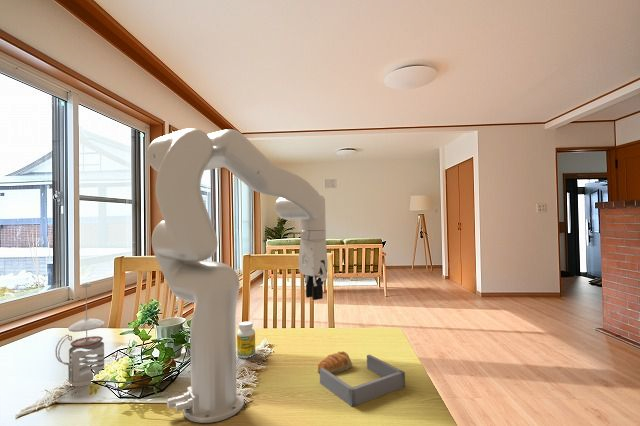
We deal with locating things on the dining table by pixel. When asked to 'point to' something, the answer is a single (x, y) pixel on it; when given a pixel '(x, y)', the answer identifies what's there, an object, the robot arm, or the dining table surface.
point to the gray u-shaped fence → (367, 391)
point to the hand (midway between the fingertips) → (314, 297)
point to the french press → (82, 373)
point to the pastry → (336, 362)
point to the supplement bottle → (245, 340)
